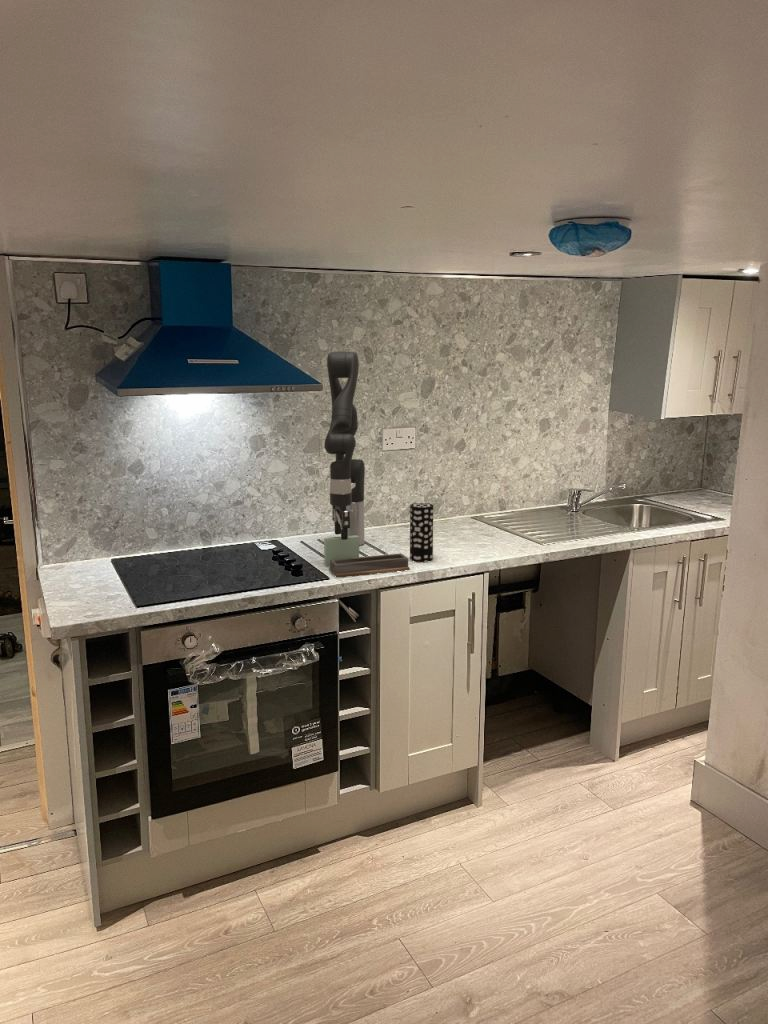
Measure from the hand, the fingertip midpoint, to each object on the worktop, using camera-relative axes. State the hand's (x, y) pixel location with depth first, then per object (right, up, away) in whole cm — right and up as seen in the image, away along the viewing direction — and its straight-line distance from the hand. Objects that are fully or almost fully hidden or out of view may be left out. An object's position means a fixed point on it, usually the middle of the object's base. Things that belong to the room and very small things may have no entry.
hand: (341, 536), depth 274 cm
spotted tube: (+29, -9, +9) cm, 31 cm away
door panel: (0, -10, +2) cm, 10 cm away
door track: (+10, -11, -5) cm, 16 cm away
